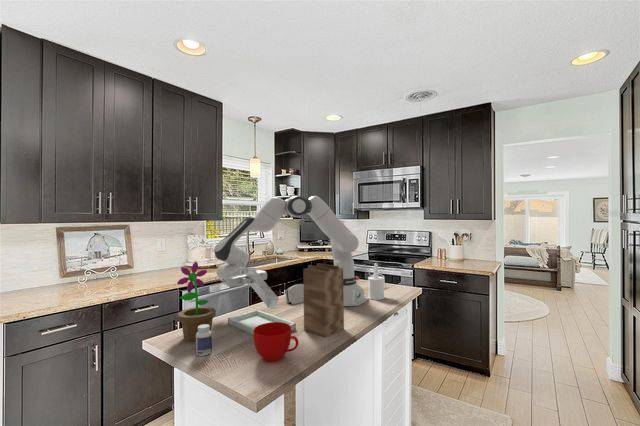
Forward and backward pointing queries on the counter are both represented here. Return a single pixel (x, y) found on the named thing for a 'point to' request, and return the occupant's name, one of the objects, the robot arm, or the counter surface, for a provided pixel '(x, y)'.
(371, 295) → the white soap dispenser
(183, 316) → the flowerpot
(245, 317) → the tray
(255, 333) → the ceramic cup
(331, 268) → the ridged wooden post
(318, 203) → the robot arm
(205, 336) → the pill bottle
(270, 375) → the counter surface
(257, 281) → the block
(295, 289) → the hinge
